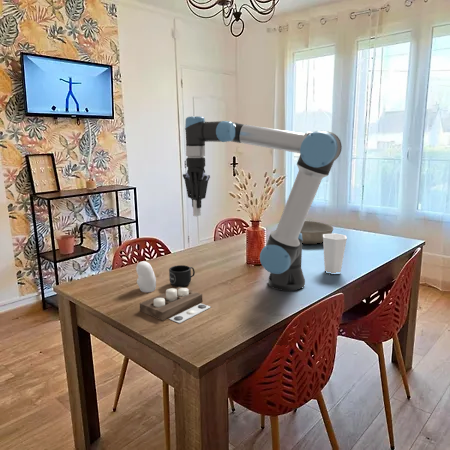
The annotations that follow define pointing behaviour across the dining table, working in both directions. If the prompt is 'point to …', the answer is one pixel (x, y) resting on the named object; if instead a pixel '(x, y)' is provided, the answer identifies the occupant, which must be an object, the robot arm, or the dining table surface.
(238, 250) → the dining table surface
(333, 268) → the cup
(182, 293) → the button right
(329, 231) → the bowl
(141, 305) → the board
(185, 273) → the mug
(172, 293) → the button middle
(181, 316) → the card
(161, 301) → the button left
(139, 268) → the figurine
